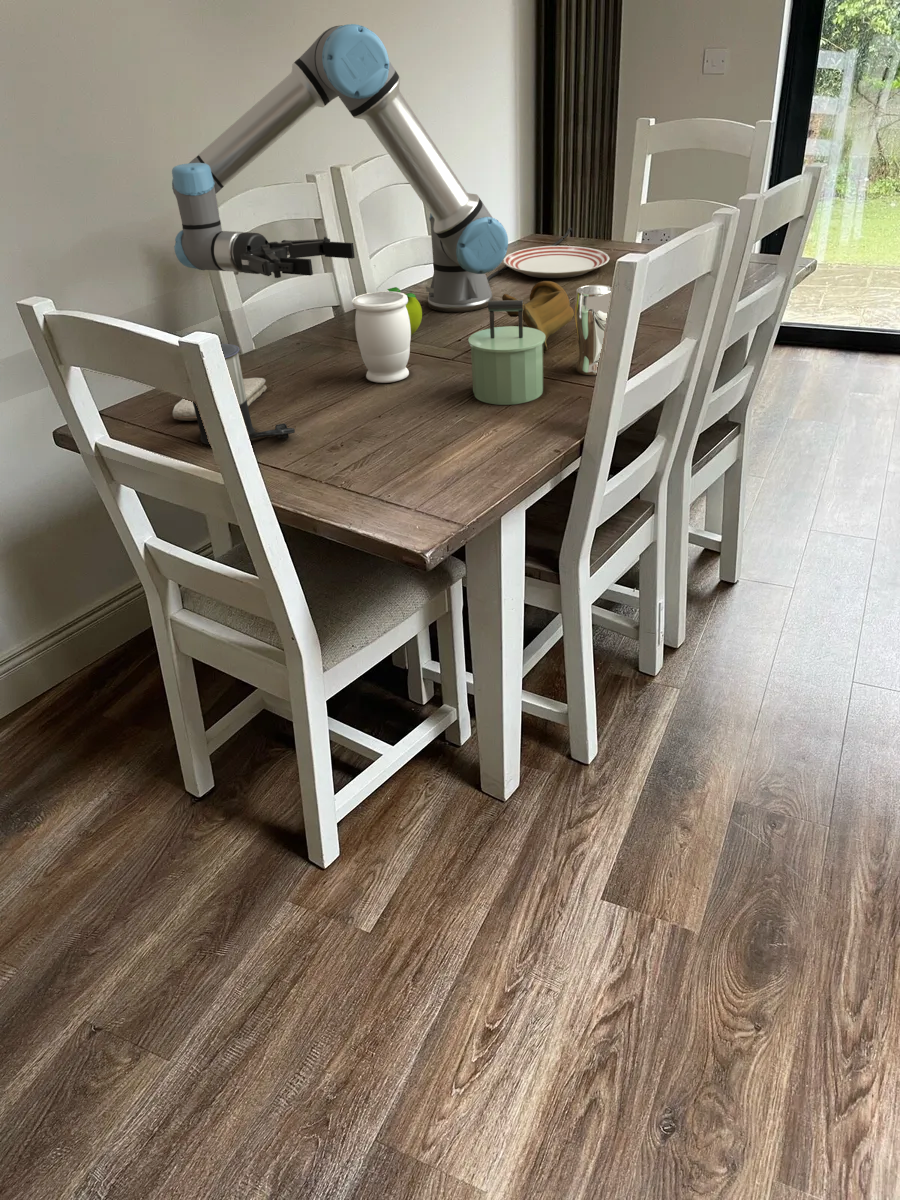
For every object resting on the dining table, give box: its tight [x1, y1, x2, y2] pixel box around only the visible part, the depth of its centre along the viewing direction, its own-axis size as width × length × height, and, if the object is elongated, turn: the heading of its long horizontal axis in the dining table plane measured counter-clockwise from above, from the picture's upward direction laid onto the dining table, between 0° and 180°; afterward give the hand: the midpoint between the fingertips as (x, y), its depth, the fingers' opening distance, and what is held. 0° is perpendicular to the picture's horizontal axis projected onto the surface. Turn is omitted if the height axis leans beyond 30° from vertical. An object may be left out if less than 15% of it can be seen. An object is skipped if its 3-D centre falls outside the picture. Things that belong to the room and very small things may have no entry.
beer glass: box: [574, 284, 613, 376], centre depth 171 cm, size 7×7×15 cm
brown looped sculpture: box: [501, 280, 575, 354], centre depth 189 cm, size 18×13×22 cm
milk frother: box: [192, 343, 296, 446], centre depth 153 cm, size 14×16×15 cm
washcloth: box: [172, 377, 268, 422], centre depth 171 cm, size 12×18×3 cm, turn 170°
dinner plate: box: [502, 245, 610, 279], centre depth 242 cm, size 27×27×3 cm
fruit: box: [386, 286, 423, 336], centre depth 198 cm, size 9×9×10 cm
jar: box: [351, 290, 412, 384], centre depth 175 cm, size 11×10×15 cm
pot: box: [470, 344, 545, 406], centre depth 166 cm, size 13×13×10 cm
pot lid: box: [467, 299, 546, 353], centre depth 161 cm, size 14×14×8 cm
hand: (332, 258), depth 172 cm, fingers open, 13 cm apart
